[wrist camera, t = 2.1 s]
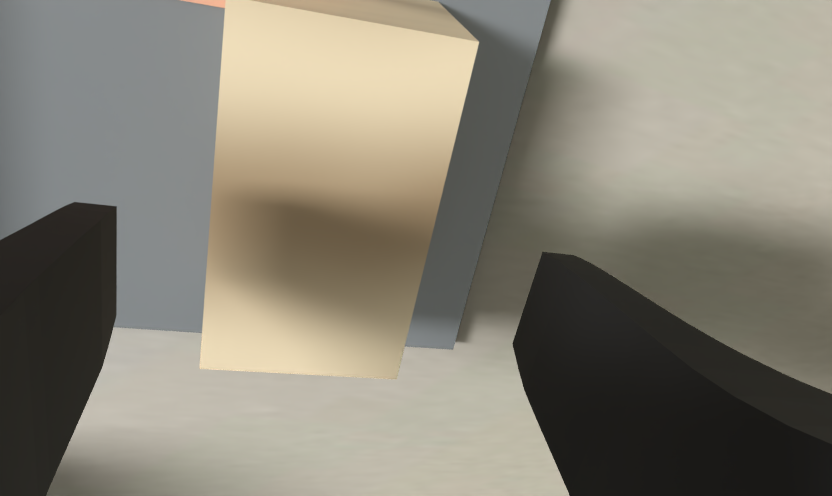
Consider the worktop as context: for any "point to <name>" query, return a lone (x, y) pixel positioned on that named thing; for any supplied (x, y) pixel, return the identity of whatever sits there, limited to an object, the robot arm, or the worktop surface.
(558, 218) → the worktop surface
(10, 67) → the board
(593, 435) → the robot arm
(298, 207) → the maple bar
